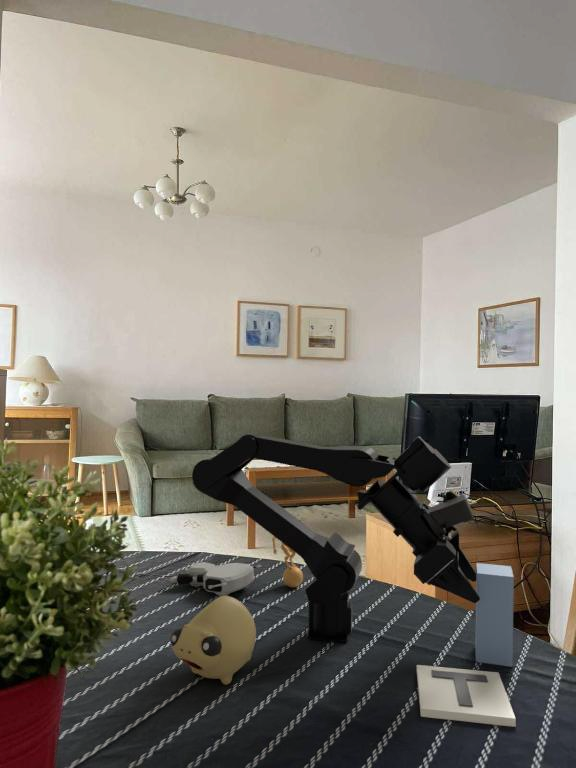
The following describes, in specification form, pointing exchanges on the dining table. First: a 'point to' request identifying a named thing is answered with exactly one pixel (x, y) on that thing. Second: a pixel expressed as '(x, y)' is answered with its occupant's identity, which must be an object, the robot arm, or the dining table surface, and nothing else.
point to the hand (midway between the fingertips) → (477, 589)
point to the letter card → (463, 696)
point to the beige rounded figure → (217, 639)
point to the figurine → (290, 567)
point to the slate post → (494, 614)
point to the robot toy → (217, 577)
